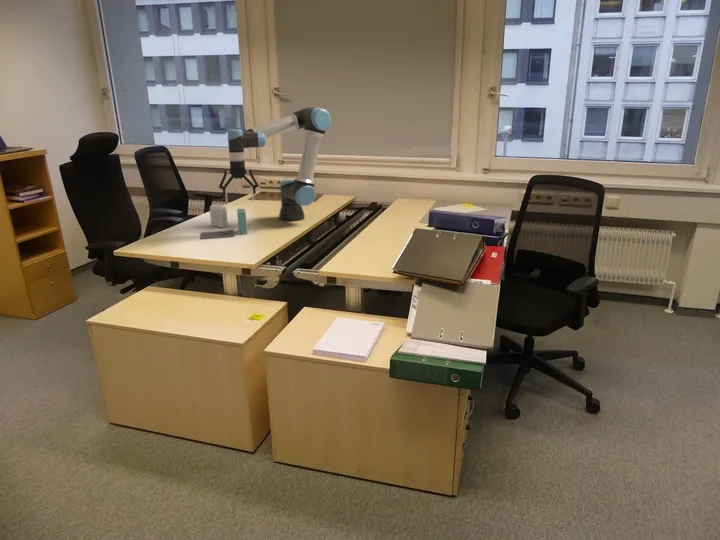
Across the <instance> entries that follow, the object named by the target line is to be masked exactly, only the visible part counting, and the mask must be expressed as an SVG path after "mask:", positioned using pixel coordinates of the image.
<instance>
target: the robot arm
mask: <svg viewBox="0 0 720 540" xmlns="http://www.w3.org/2000/svg"><path fill="white" fill-rule="evenodd" d="M331 124H332V118H331V114H330V113H329V111H328V110H326V109H325V108H321V107H310V106H309V107H304V108H302V109H299V110H296V111H294V112H291V113H289V115H288V116H285V117H282V118H279V119H276V120H273V121H270V122H267V123H264V124H260V125H257V126H255V127H252V128H248V129H246V130H243V129H240V128H239V129H238V128H237V129H233V128H231V129H229V130H227V143H228V144H227V146H228V157H229V160H230V161H229V170H227V169H224V171H223V175H222V178H221V181H220V183H219V186H218V188H219V189H221V190H222V194H223V196H225V203H228V192H227V191H228V189H227V187H228V186H229V184H230V183H231V182H232V180H235V179H244V181H246V182H247V183H248V185H250V186H251V190H250V191H251V201H252V202H253V201H255V195H256V193H257V192H256V189H257V188H259V183H258V182H257V180H256V177H254V175H253V172H252V169H251V168H249V169H246V163H245V162H246V161H245V149H249V148H251V149H252V148H253V149H254V148H259V149H260V148H263V147H265V146H266V143H267V139H268V138H271V137H275V136H277V135H281V134H284V133H286V132H289V131H293V130H295V131H298V130H301V129H303V131H304V133H305V138H304V143H303V149H302V154H301V158H300V164H299V168H298V173H297V177H295V178H294V179H293V178H291V179H283V180H281V181H280V186H279V188H280V202H281V203H280V204H281V205H280V209H279V214H278V219H279V220H280V219H281V221H284V220H285V222H287V221H288V222H294V221H295V222H296V220H297V221H301V219H302V220H304V219H305V218H306V215H305V212H304V209H303V207H306V206H310V205H311V204H313V203H314V201H315V200H316V197H317V192H316V190H315V181H314V175H315V171H316V165H317V160H318V156H319V151H320V147H321V146H320V145H321V142H322V141H321V140H322V138H323V137H324V136H325V135H326V131H327V130H328V129H329V128H330V127H331ZM246 173H247V174H248V175H249V176H250V178H251V180H252V181H253V182H252V181H251V180H250V179H249V178H248V177H247V176H246ZM229 174H230V175H231V176H230V177H229V178H228V179H227V180H226V177H227V176H228V175H229ZM225 180H226V183H225Z"/></svg>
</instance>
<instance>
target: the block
mask: <svg viewBox="0 0 720 540" xmlns="http://www.w3.org/2000/svg"><path fill="white" fill-rule="evenodd" d="M236 214H237V225H238V234H239V235H248V228H247V216H246V215H247V214H246V209H245V208H237V209H236Z"/></svg>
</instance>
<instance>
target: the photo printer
mask: <svg viewBox="0 0 720 540" xmlns="http://www.w3.org/2000/svg"><path fill="white" fill-rule="evenodd" d="M209 215H210V225H211V226H213V227H218V228H227V227H228V225H229V223H228V213H227V208H226V206H224V205H222V204H218V203H217V204H216V203H215V204H212V205H210V206H209Z"/></svg>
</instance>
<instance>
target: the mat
mask: <svg viewBox="0 0 720 540" xmlns="http://www.w3.org/2000/svg"><path fill="white" fill-rule="evenodd" d="M234 237H235V234H234V230H217V231H205V232H203V231H202V232H200V235H199V239H200V240H209V239H211V240H212V239H225V238H234Z"/></svg>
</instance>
